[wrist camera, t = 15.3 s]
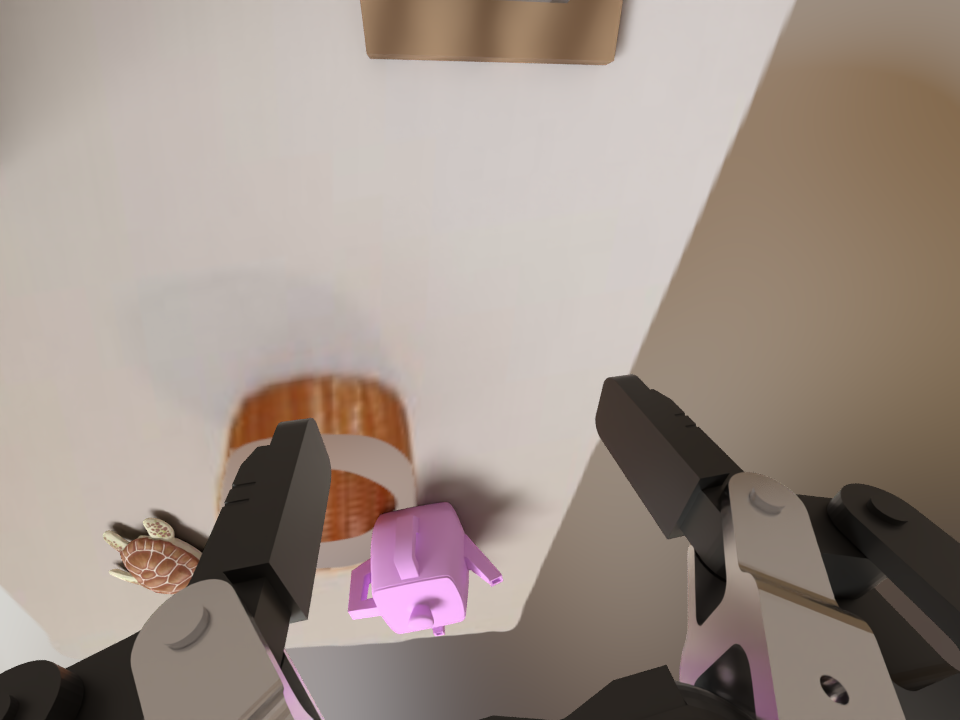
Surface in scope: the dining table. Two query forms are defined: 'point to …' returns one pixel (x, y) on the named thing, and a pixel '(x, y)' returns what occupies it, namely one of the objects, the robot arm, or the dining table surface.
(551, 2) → the bulb holder
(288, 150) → the dining table surface
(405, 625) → the teakettle
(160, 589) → the decorative turtle
